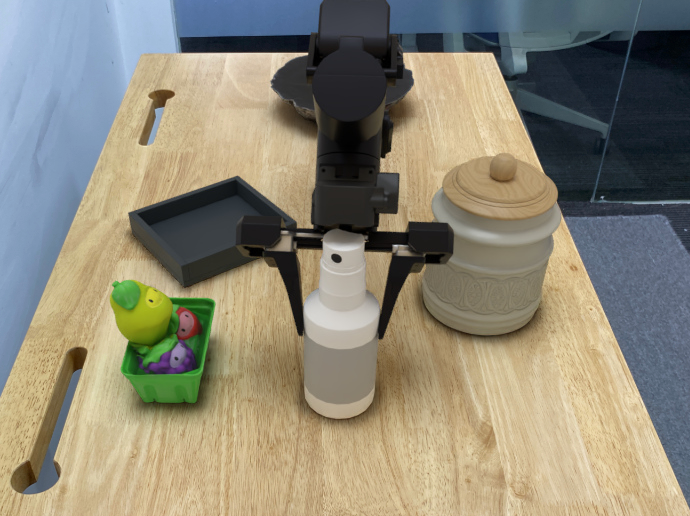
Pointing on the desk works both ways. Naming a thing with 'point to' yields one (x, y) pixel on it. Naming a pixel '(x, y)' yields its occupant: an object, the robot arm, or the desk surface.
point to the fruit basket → (162, 340)
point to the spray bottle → (341, 331)
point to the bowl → (299, 93)
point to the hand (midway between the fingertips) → (340, 337)
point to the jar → (492, 245)
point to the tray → (201, 228)
